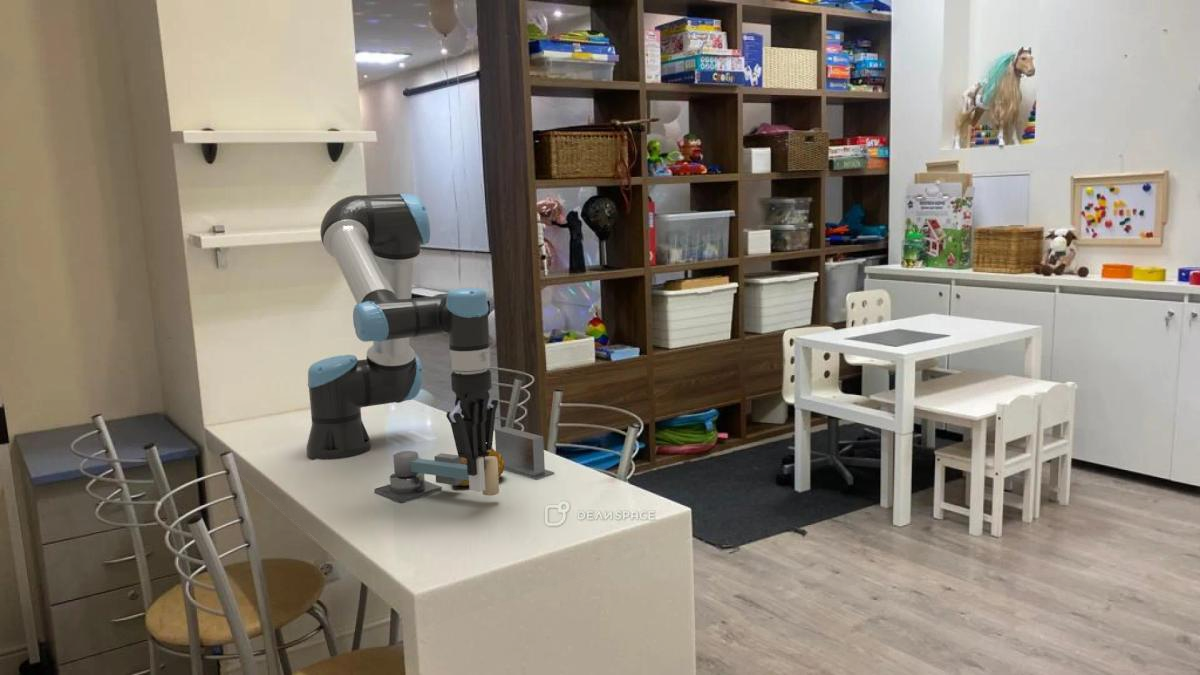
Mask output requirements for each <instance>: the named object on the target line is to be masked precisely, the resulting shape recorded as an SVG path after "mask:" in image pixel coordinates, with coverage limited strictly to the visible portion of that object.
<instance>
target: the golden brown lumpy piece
mask: <svg viewBox="0 0 1200 675" xmlns="http://www.w3.org/2000/svg"><path fill="white" fill-rule="evenodd" d="M487 452H490V454H489V456H495V457H497V460H498V479H500V478H501V476H502V474H503V472H504V471H505V470H504V462H505V461H504V459H503V457H502V456H501V454H499V453H497V452H496V449H494V448H493V447H492V449H491V450H488V451H487ZM485 457H487V456H485ZM461 462H462V464H463V465H467V460H466V458H462V457H461ZM452 486H453V487H457V486H460V487H461V486H463V487H466V486H469V480H464V479H463V482H462V483H460V484H458V485H452Z"/></svg>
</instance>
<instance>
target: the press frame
mask: <svg viewBox="0 0 1200 675" xmlns="http://www.w3.org/2000/svg"><path fill="white" fill-rule="evenodd" d="M494 438H495V444H494V445H495V451H496V452H497V453H499V454H501V456H502V457H503V459H504V461H505V462H504V470H503V471H505V472H509V473H513V474H515V475H518V476H523V477H525V478H528V479H532V480H536V481H538V480H542V479H544V478H547V477H551V476H552V475H555V471H552V470H549V469H546V468H545V466H546V464H545V448H544V447H545V446H544V445H545V444H544V441H545V440H544V436H542V435H538V434H535V433H531V432H527V431H525V430H524V431H523V430H520V429H515V428H513V427H507V426H503V427H499V428H496V429H495V428H494ZM442 488H443V487H442V486H440V485H438V484H436V483H433V482H430V481H427V480H425V474H423V473H418V474H416V475H414V476H409V477H398V476H396V475H395V472H394V473H392V474H390V475H389V484H386V485H382V486H379V487H376V488H373V490H374V493H375V494H377V495H378V496H379V495H380V496H382V497H384V498H387V499H390V500H392V501H395V502H397V503H400V504H402V503H405V502H406V503H407V502H409V501H412V500H415V499H419V498H422V497H426V496H429V495H433V494H435V493H438V492H441V491H443V489H442Z"/></svg>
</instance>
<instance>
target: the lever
mask: <svg viewBox="0 0 1200 675" xmlns="http://www.w3.org/2000/svg"><path fill="white" fill-rule="evenodd" d="M392 456H393V457H392V458H393V468H394V471H393V472H394V473H395V475H396V476H398V477H409V476H414V475H416V474H418V473H423V474H424V475H431V476H435V484H436V483H437V484H443V485H444V484H445V485H451V486H453V485H457V486H459V485H458V484H460V483H462V482H463V479H464V480H469V475H468V473H467V465H463V464H462V462H461V457H459V456H458V454H451V453H444V452H440V453H439V454H437V455H435V456H433V457H434V460H432V459H428V458H427V459H426V458H421V457H419V453H418V452H417V451H414V450H406V451H405V450H404V451H399V452H396V453H394V454H393V455H392ZM484 475H485V490H483V491H482V495H484V496H495V495H499V493H500V482H499V479H500V478H499V479H498V460H497V457H495V456H487V457H485V471H484Z"/></svg>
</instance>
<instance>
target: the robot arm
mask: <svg viewBox="0 0 1200 675" xmlns="http://www.w3.org/2000/svg"><path fill="white" fill-rule="evenodd" d="M319 232H320V238H321V239H320V240H321V243H322V245H323V247H324V249H325V250H326V252H327V254H329V256H331V257H333V258H334V259H335V261H336V263H337V266H338V267H339V269H340V271H341V274H342V275H343V277H344V279H345V281H346V284H347V286H348V288H349V290H350V293H351V294H352V296H353V299H354V300H355V303H356V304H355V306H354V307H353V311H352V313H353V314H352V320H353V321H352V322H353V327H354V331H355V335H356V337H357V338H358V340H360V341H362V342H367V343H368V342H372V343H373V345H371V346H370V347H369V348H368V349H367V351H366V359H358V358H357V356H356V355H353V354H344V355H335V356H331V357H327V358H323V359H320V360H318V361H316V362H314V363H312V364H311V365H310V366H309V368H308V370H307V387H308V393H309V404H310V405H309V406H310V415H311V416H310V417H311V426H310V427H311V428H310V431H309V434H308V440H307V443H306V457H307V458H309V459H310V460H325V461H326V460H327V461H328V460H329V461H330V460H332V461H333V460H340V459H348V458H353V457H356V456H359V455H363V454H365V453H367V452H369V451H370V450H371V449H372V443H371V439H370V436H369V434H368V431H367V428H366V427H365V425H364V422H363V420H362V412H361V411H362V410H361V409H362V408H365V407H366V408H367V407H372V406H373V407H374V406H382V405H386V404H394V403H397V404H400V403H404V402H406V401H411V400H413V399H415V398H417V396H418V395H419V393H420V391H421V389H422V388H421V387H422V383H423V372H422V370H423V366H422V363H421V362H422V361H421V358H420V357H419V356H418V355H417V354H416V352H415V350H414V349H413V348H412V346H410V338H415V337H416V338H417V337H426V336H435V335H436V336H437V335H445V334H447V335H448V341H449V363H450V364H449V366H450V370H451V371H452V372H451V374H450V379H451V390H452V392H454V394H455V401H454V409H452V411H447V412H446V418H447V420H448V421H449V423H450V427H451V431H452V436H453V439H454V444H455V448H456V452H457V455H458V456H459V457H462V458H466V460H467V473H468V475H469V485H468V487H469V491H475V492H483V490H485V475H484V471H485V456H489V454H490V452H487V451H488V450H491V449H492V448H493V442H494V433H495V421H496V412H497V408H498V405H499V401H498V399H493V398H491V397H490V392H489V391H490V390H492V385H493V384H492V382H493V381H492V372H491V371H490V369H489V368H490V367H491V357H490V356H491V355H490V353H491V352H490V326H489V310H490V309H489V303H488V298H487V296H488V295H487V292H486V290H485V289H483V288H480V287H461V288H460V287H459V288H452V289H450V290H448V292H446V293H437V294H435V295H433V296H423V297H414V298H413V297H412V294H413V293H412V291H413V289H412V288H413V270H414V269H413V267H414V260H415V259H416V258H418V257H419V256H420V254H421V246H425V245H426V244H428V243H429V242H430V239H431V225H430V219H429V214H428V211H427V208H426V205H425V203H424V202H423V200H422V199H421V197H419V195H417V194H414V193H413V194H408V193H407V194H403V193H400V192H399V193H389V194H365V195H359V194H358V195H357V194H356V195H350V196H347V197H344V198H342V199H340V200H337V202H335V203H334V204H333V205H331V207H330V208H329V209H328V210H327V211H326V213H325V215H324V216H323V218H322V221H321V225H320V230H319Z"/></svg>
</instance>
